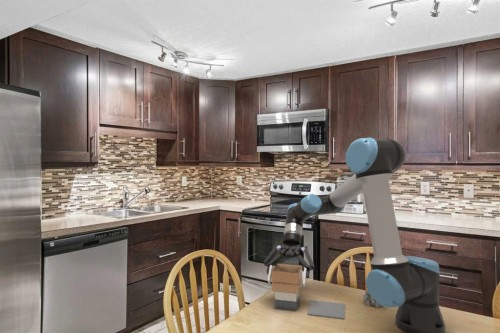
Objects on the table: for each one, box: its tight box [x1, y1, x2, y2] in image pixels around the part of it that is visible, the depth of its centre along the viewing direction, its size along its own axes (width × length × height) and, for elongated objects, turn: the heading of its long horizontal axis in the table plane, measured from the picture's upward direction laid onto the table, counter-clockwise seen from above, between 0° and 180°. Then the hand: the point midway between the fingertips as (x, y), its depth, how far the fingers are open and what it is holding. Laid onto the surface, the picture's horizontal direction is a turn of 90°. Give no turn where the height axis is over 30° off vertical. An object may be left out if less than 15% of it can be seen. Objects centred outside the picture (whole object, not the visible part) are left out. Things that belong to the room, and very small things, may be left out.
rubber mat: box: [307, 299, 346, 320], centre depth 132 cm, size 13×13×1 cm
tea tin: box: [274, 291, 300, 312], centre depth 136 cm, size 8×8×10 cm
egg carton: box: [362, 289, 383, 309], centre depth 139 cm, size 11×8×4 cm
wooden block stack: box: [271, 263, 303, 294], centre depth 136 cm, size 10×10×8 cm
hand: (286, 283), depth 134 cm, fingers open, 13 cm apart
